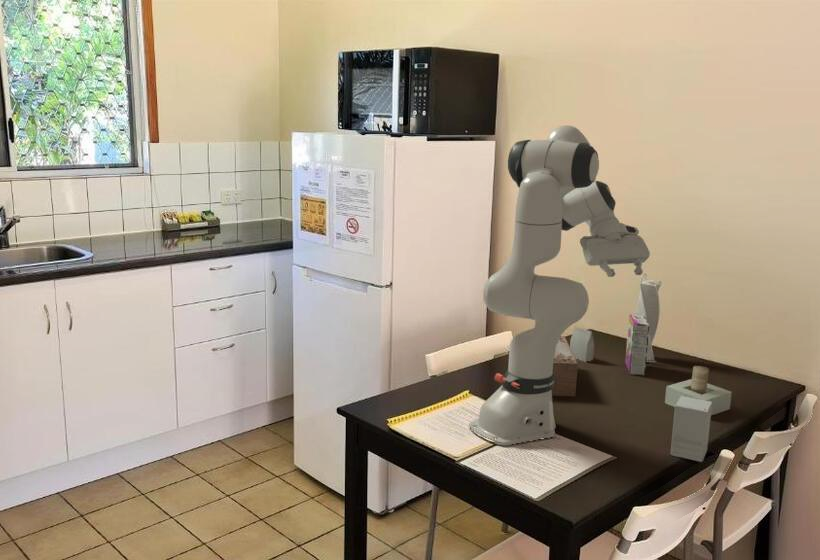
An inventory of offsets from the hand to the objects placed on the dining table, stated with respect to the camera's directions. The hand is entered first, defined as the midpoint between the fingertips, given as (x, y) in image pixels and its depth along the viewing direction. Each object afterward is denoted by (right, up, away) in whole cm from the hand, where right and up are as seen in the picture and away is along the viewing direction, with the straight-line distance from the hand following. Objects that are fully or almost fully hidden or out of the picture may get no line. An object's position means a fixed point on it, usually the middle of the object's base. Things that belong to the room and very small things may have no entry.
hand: (626, 274), depth 209 cm
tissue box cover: (-21, -32, +11) cm, 40 cm away
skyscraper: (+15, -28, +33) cm, 45 cm away
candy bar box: (+9, -30, +22) cm, 38 cm away
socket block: (+17, -36, -7) cm, 41 cm away
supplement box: (+4, -43, -35) cm, 55 cm away
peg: (+17, -36, -7) cm, 41 cm away
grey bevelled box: (-6, -27, +31) cm, 42 cm away
